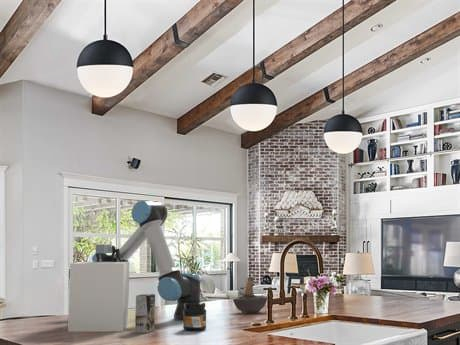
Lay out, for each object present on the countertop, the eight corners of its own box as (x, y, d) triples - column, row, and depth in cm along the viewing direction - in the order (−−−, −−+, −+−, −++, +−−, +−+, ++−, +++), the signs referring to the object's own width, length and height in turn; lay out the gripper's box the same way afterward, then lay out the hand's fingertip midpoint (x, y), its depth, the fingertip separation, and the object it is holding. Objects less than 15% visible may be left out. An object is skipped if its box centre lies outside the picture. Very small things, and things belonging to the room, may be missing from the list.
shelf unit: (128, 325, 298) (129, 261, 301) (122, 331, 277) (123, 263, 280) (77, 325, 297) (79, 261, 300) (68, 331, 276) (70, 263, 280)
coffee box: (148, 333, 272) (149, 295, 274) (134, 332, 274) (135, 295, 276) (155, 330, 281) (155, 293, 283) (141, 329, 283) (142, 293, 284)
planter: (269, 312, 354) (268, 276, 356) (254, 315, 340) (254, 277, 342) (246, 310, 362) (246, 275, 364) (231, 313, 348) (231, 277, 350)
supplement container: (197, 332, 275) (197, 304, 276) (178, 330, 281) (178, 303, 282) (210, 329, 284) (210, 302, 285) (191, 327, 290) (192, 301, 291)
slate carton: (111, 252, 313) (112, 244, 313) (104, 253, 289) (104, 244, 289) (103, 252, 312) (103, 244, 313) (95, 253, 289) (95, 244, 289)
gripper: (126, 272, 322) (122, 250, 303) (93, 272, 321) (86, 250, 302) (128, 259, 326) (123, 236, 307) (95, 259, 326) (88, 236, 307)
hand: (105, 243), depth 305 cm, fingers closed on slate carton, 4 cm apart
